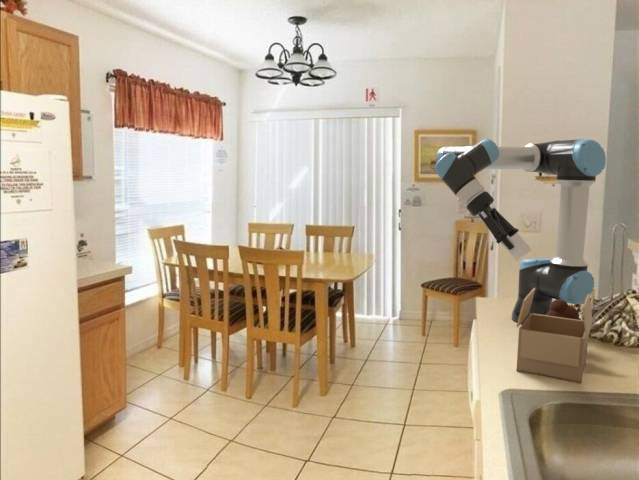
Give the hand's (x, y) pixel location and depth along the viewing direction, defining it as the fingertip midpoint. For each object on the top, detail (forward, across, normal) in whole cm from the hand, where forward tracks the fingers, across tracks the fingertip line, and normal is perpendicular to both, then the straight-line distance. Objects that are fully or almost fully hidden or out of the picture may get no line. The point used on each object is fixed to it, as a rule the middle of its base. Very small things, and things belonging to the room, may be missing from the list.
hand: (524, 255), depth 152 cm
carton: (+29, 0, -14) cm, 32 cm away
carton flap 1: (+12, 0, -9) cm, 15 cm away
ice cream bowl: (+29, -19, -14) cm, 37 cm away
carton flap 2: (+22, 0, +2) cm, 22 cm away
